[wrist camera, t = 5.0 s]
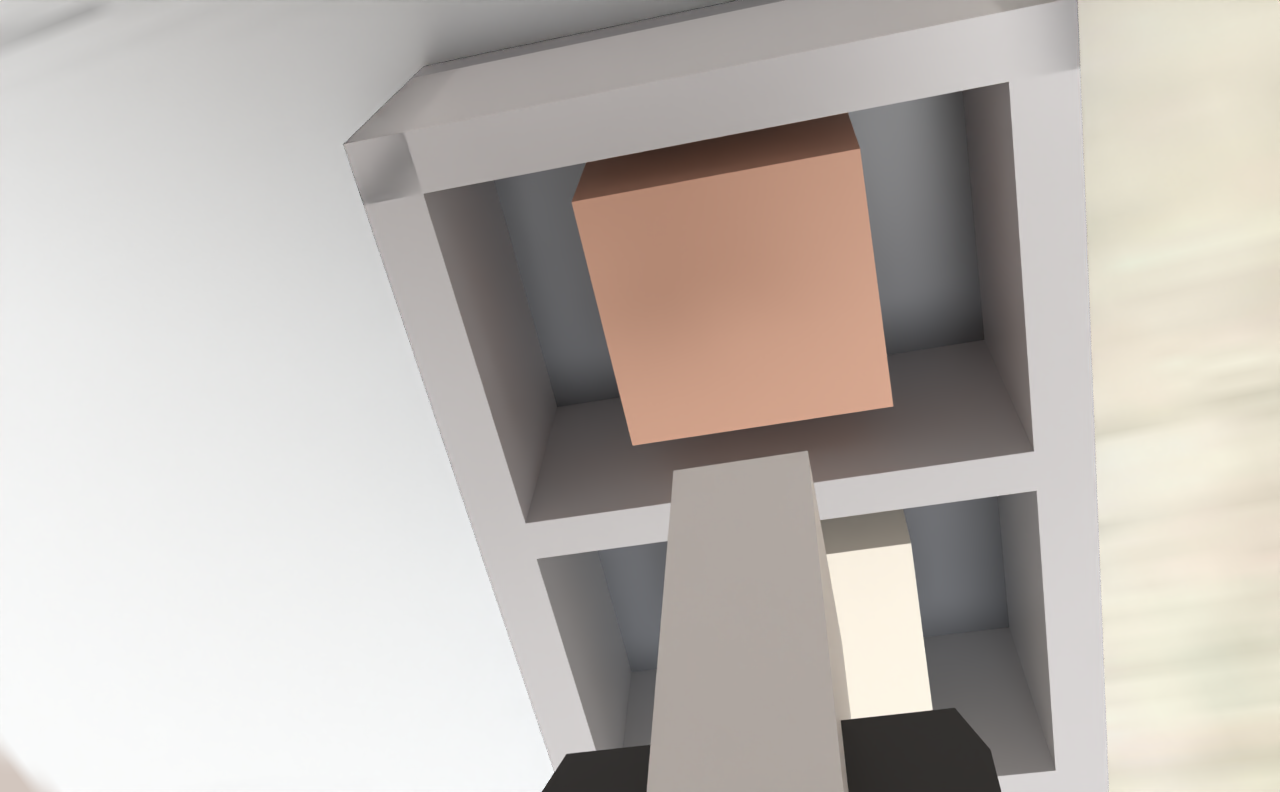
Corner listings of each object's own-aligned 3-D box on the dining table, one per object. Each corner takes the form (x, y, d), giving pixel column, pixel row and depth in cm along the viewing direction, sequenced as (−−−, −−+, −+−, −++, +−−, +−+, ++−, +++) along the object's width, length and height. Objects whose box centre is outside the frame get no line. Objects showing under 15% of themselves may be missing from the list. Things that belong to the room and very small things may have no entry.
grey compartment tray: (423, 65, 23) (343, 144, 18) (999, -55, 21) (1077, -3, 16) (660, 870, 33) (649, 1053, 28) (1059, 834, 31) (1118, 1023, 27)
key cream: (670, 511, 24) (665, 575, 22) (895, 478, 23) (911, 543, 21) (711, 679, 26) (710, 752, 24) (919, 655, 25) (935, 729, 23)
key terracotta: (586, 161, 21) (571, 202, 19) (847, 111, 20) (860, 148, 18) (641, 387, 23) (632, 445, 21) (879, 350, 22) (893, 406, 20)
